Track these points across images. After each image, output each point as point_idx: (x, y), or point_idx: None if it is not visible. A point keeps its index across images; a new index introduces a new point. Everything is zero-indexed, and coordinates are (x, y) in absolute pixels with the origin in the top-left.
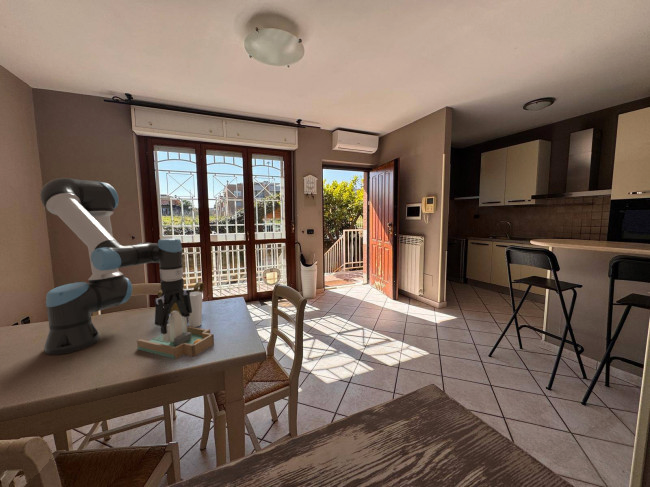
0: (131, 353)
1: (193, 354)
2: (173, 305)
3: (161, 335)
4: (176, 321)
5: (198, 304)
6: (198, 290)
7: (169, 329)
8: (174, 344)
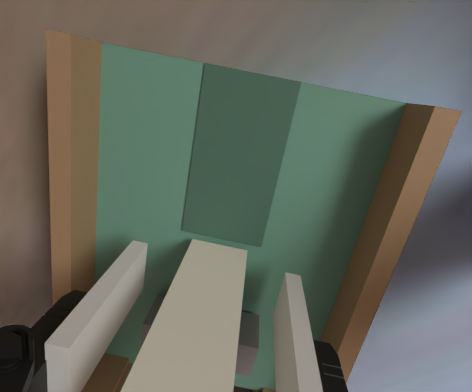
0: (41, 48)
1: None
2: None
3: (280, 89)
4: None
5: None
6: None
7: (95, 362)
8: (157, 295)
